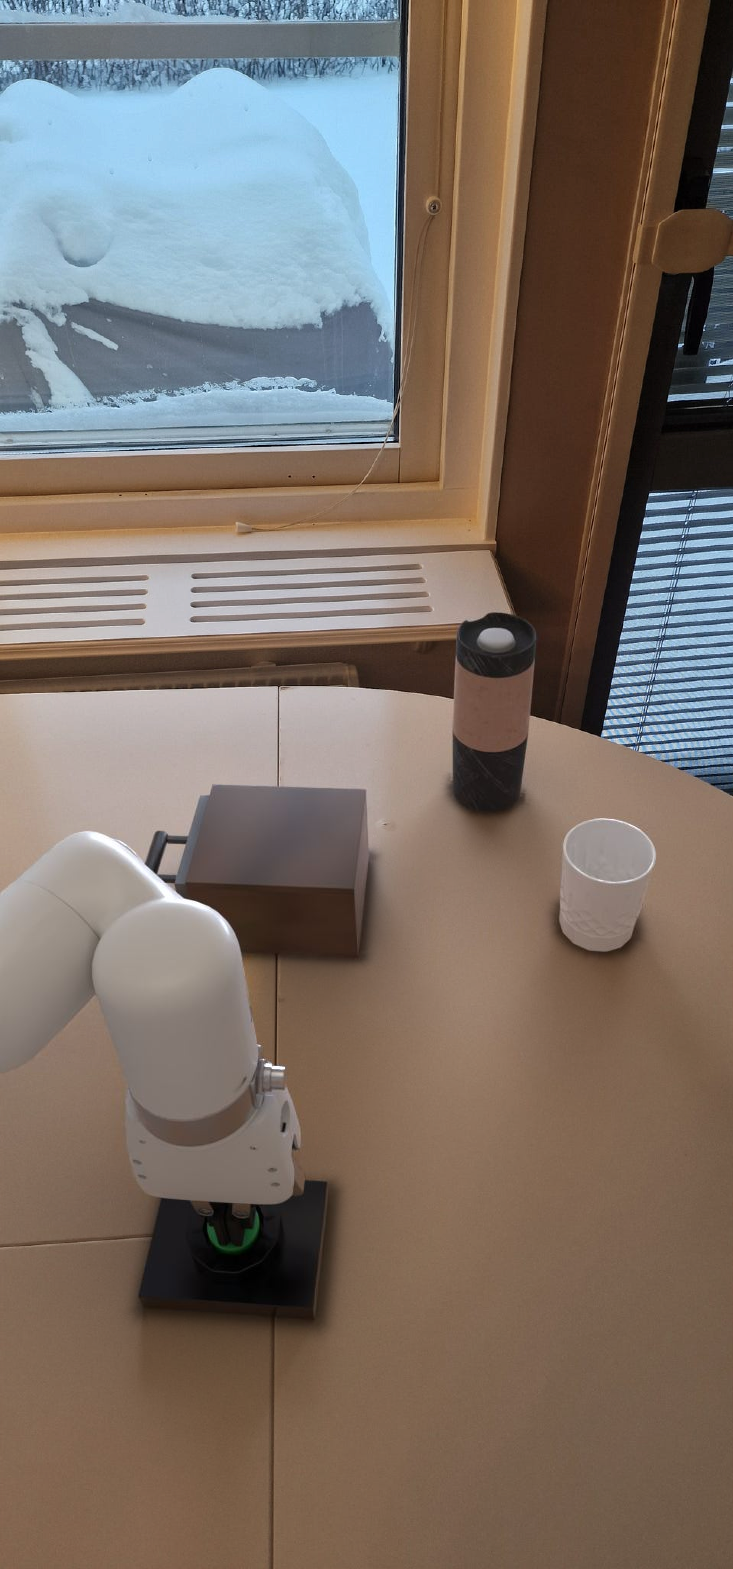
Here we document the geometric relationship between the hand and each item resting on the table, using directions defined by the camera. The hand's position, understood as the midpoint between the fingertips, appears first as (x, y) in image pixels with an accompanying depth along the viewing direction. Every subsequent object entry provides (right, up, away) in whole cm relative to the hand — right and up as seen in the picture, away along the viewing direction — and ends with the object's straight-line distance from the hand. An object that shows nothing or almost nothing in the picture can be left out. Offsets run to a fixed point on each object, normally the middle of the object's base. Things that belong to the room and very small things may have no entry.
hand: (234, 1224), depth 72 cm
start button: (0, -1, +1) cm, 2 cm away
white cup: (+30, +17, +24) cm, 43 cm away
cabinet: (+2, +19, +27) cm, 33 cm away
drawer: (-2, +20, +27) cm, 34 cm away
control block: (0, -3, +3) cm, 4 cm away
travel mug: (+22, +30, +39) cm, 53 cm away
